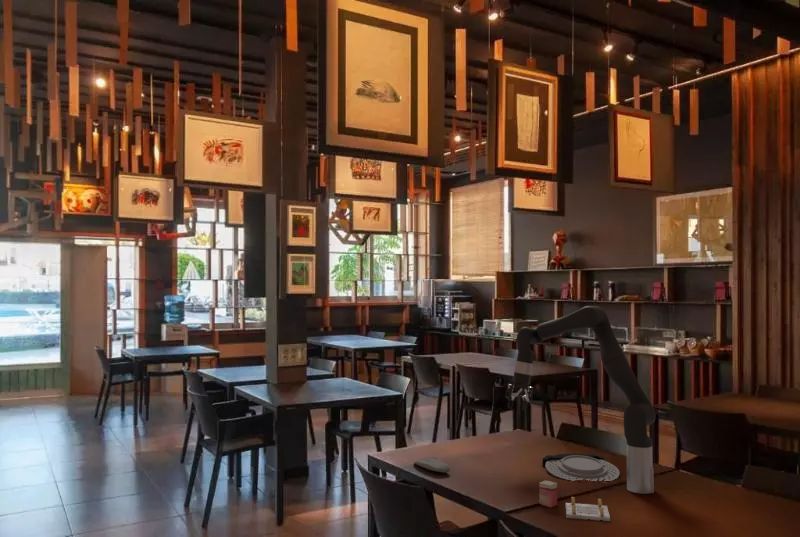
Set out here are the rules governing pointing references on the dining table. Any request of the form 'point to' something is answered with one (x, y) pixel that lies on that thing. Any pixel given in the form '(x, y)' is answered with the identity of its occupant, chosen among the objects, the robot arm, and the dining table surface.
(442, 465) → the stone
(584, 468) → the brake disc
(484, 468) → the dining table surface
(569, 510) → the chassis
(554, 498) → the small box
